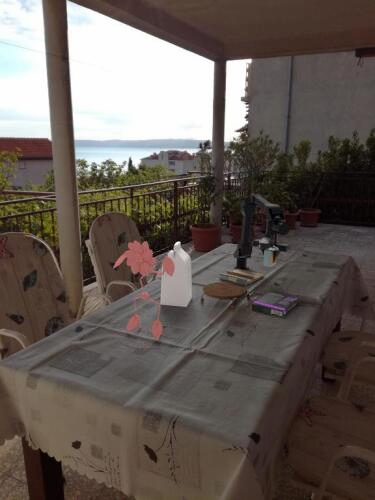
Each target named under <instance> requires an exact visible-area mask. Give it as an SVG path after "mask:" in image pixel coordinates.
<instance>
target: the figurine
mask: <svg viewBox="0 0 375 500" xmlns="http://www.w3.org/2000/svg"><path fill="white" fill-rule="evenodd" d="M127 247H128V250H126V251H124V253H123V254H122V255H120V257H118V259H117V260H116V261H115V264H114V265H113V269H116V268H117V267H118V266H120V265H121V264H122V263H123V262H124V261H125V259H127V260H126V265H127V266H128V267H130V270H131V272H132V274H133V275H137V274H138V273H140V275H141V277H139V282H140V285H141V289H142V293H141V295H140V296H138V297H135V298H134V299H133V300H134V301H133V303H134V305H133V306H134V315H133V316H132V317H130V319H129V320H128V323H126V325H127V328H126V333H129V332H131V331H133V330H134V329H135V328H136V327H137V326H139V328H140V329H142V325H141V323H140V316H139V315H138V314H137V310H136V300H137V299H142V300H143V301H151V302H153V303H155V304H157V305H159V307H158V314H157V319H156V320H154V322H153V324H152V326H151V332H152V334H153V337H154V338H155V339H156V340H157V341H158V340H159V338H160V337H161V336H162V334H163V324H162V322H161V321H160V320H159V319H160V314H161V313H160V312H161V308H162V307H161V306H162V305H161V304H160V303H159V302H157V301H155V300H153V299H151V298H150V295H149V293H147V292H145V289H144V285H143V281H142V280H143V278H145V277H146V276H147V274H152V273H155V274H158V275H161V276H162V275H164V272H166V273H167V274H168V275H170V276H171V277H172V275H173V273H174V270H175V265H174V262H173V261H172V260H171V258H169V257H168V255H165V256H164V258H163V259H162V263H163V264H161V266H162V265H163V273H162V272H160V271H156V270H153V266H155V265H156V264H157V263H158V261H157V259H156V258H154V257H153V255H154V252H153V250H152V249H150V247H149V243H148V242H147V241H143V242H142V243H140V242H139V241H137V240H133V242H128V244H127ZM119 342H120V344H122V345H123V346H126V347H127V348H130V349H131V348H132V349H135V347H134V346H129V345H126V344H124V343H122V342H121V341H119ZM157 348H160V347H159V346H158V347H156V349H157ZM136 349H140V350H146V348H142V347H141V348H140V347H136ZM151 349H154V347H152V348H151V347H150V348H148V350H151Z"/></svg>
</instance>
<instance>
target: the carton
mask: <svg viewBox="0 0 375 500" xmlns="http://www.w3.org/2000/svg"><path fill="white" fill-rule="evenodd" d="M273 250H275V248H273V247H270V248H269V249H266V250H264V256H263V262H262V263H263V264H262V266H264V267H266V268H267V267H268V268H271V267H274V266H276V265H277V260H276V261H275V263H273V256H274V252H273Z"/></svg>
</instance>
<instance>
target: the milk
mask: <svg viewBox="0 0 375 500" xmlns="http://www.w3.org/2000/svg"><path fill="white" fill-rule="evenodd" d="M181 244H182V243H181V241H177V242H175V244H174V245H173V250H172V249H171V250H169V252H168V253H166V254H167V255H166V256H167V257H169V258H171V260H172V261H173V262H174V265H175V270H174V273H173V275H172V277H171V276H170V275H168V274H167V273H166V272H164V275H162V274H161V279H160V280H161V281H160V284H161V285H160V301H159V302H160V303H159V304H160V305H161V306H174V307H183V308H184V307H185V308H186V307H188V305H189V304H190V302H191V300H192V299H193V285H192V283H193V282H192V258H191V256H190V254H188V253H187V251H185V250H184V249H183V248H182V246H181ZM162 264H163V262H162ZM162 264H161V273H163V265H162Z"/></svg>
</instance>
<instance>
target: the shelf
mask: <svg viewBox="0 0 375 500" xmlns="http://www.w3.org/2000/svg"><path fill="white" fill-rule="evenodd" d="M263 276H265V275H264V274H262V273H257V272H254V271H249V270H246V269H245V270H241V269H236V268H235V269H234V270H228V269H227V270H226V273H222V272H220V273H219V279H220V280H223V281H226V282H227V281H228V282H230V283H231V282H232V283H235V284H239V285H242V286H248V285H250V284H252V282H253V283H254V281H255V282H256V280H257V281H259V280H261V279H263V278H264V277H263ZM262 277H263V278H262ZM260 278H261V279H260ZM258 279H259V280H258Z"/></svg>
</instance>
